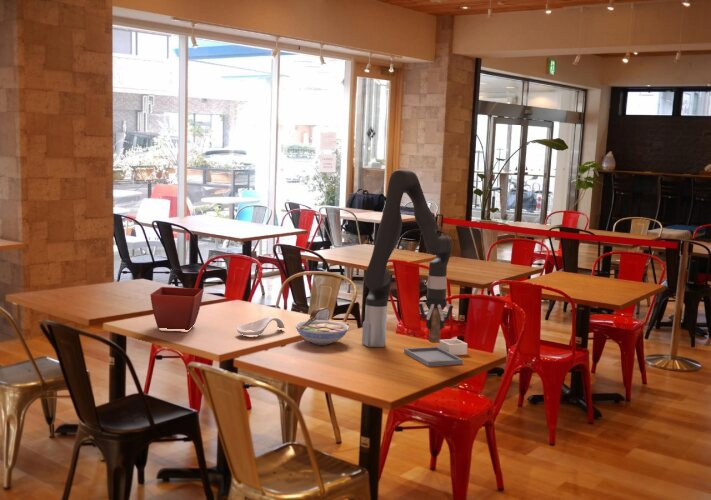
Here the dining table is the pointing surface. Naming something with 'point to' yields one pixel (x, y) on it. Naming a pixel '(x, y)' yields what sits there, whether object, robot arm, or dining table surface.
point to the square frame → (454, 346)
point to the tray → (433, 356)
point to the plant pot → (176, 307)
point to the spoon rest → (258, 326)
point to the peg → (434, 326)
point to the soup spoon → (320, 314)
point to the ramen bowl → (321, 331)
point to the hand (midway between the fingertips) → (434, 328)
